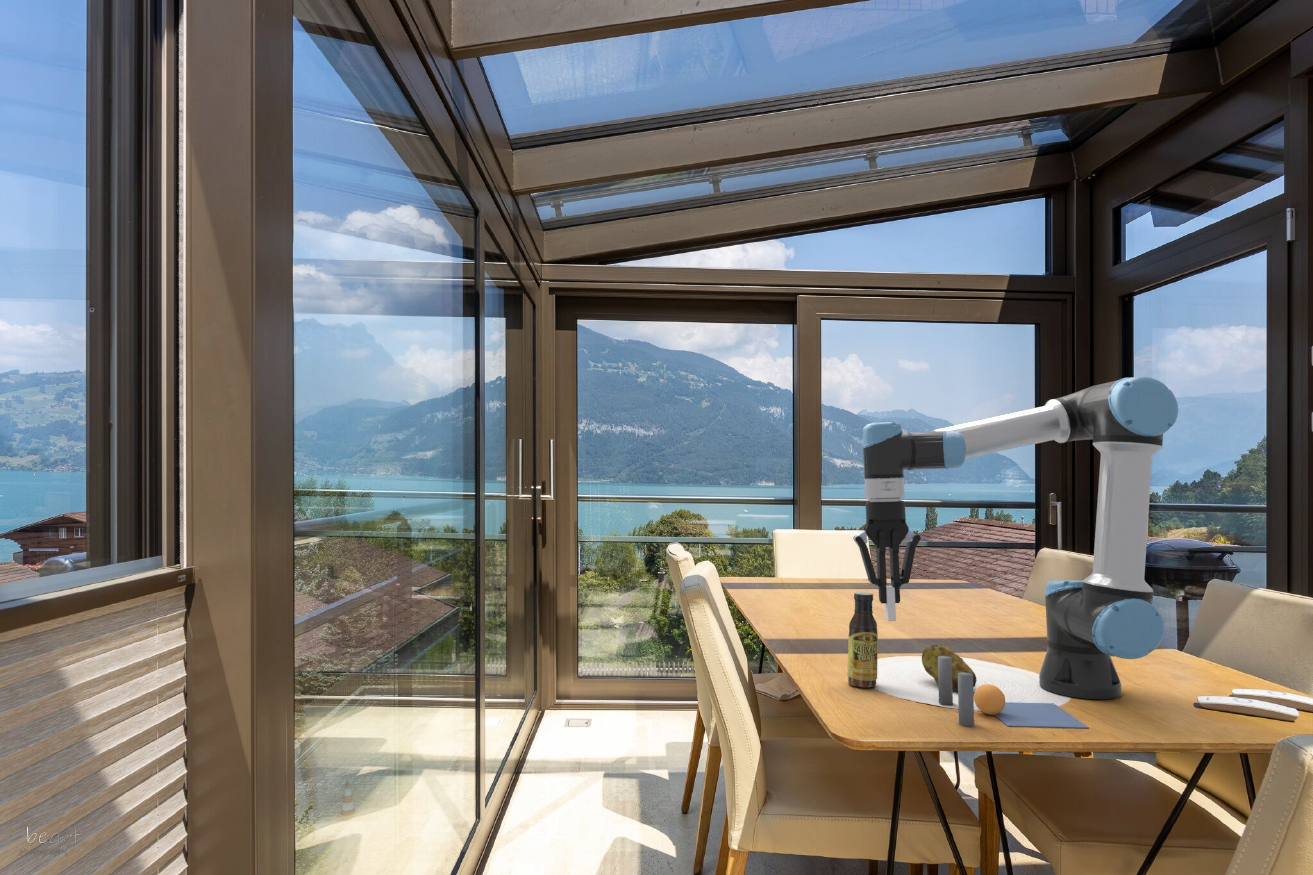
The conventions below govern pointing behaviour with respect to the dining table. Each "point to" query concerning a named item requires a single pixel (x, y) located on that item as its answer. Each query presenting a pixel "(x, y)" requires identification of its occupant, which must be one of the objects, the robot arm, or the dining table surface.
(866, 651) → the sauce bottle
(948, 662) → the post
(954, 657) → the potato
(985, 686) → the ball
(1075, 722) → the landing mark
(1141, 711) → the dining table surface
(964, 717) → the post
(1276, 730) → the dining table surface
